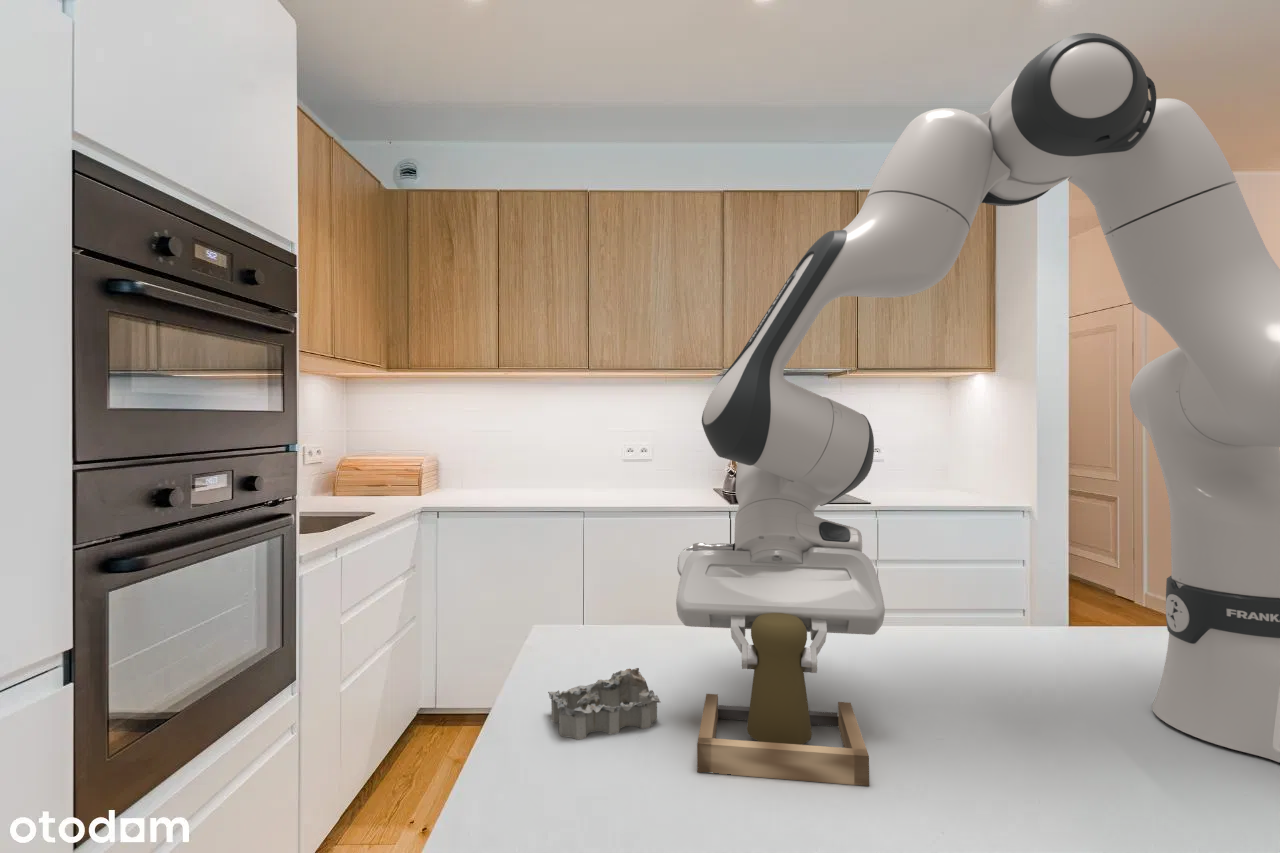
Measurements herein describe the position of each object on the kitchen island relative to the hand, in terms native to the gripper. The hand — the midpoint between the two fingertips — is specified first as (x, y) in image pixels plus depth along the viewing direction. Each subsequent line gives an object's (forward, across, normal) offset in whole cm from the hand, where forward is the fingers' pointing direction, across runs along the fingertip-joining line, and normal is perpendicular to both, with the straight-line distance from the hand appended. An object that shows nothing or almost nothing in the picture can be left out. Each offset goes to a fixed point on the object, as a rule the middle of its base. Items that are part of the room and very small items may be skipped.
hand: (779, 668), depth 64 cm
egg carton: (+3, -18, +8) cm, 20 cm away
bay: (+5, 0, +6) cm, 8 cm away
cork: (+4, 0, +5) cm, 6 cm away
